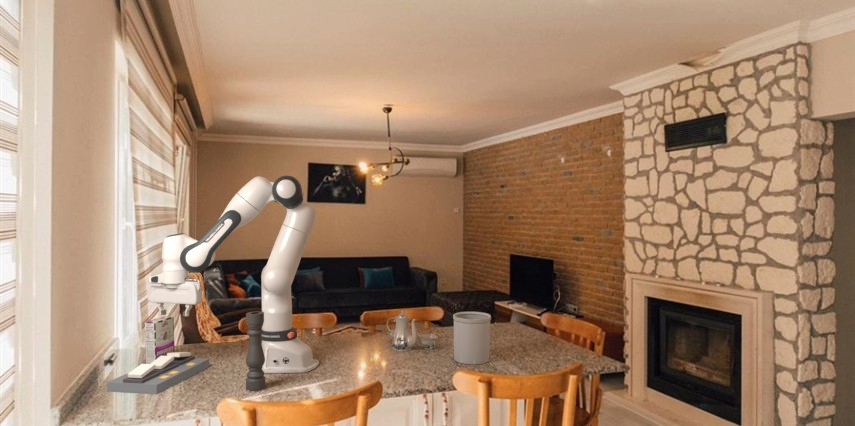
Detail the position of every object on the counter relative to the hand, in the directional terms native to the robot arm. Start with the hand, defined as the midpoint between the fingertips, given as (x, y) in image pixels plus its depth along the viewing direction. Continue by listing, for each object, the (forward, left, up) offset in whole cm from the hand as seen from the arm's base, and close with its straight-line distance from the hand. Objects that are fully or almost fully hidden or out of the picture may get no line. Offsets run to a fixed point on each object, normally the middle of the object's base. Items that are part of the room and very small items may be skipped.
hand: (174, 315), depth 198 cm
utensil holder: (-106, -31, -21) cm, 113 cm away
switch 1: (0, +18, -15) cm, 24 cm away
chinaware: (-77, -46, -21) cm, 92 cm away
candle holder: (-38, +13, -21) cm, 45 cm away
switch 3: (0, -2, -15) cm, 15 cm away
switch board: (0, +8, -21) cm, 22 cm away
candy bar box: (+15, -12, -21) cm, 28 cm away
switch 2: (0, +8, -15) cm, 17 cm away
